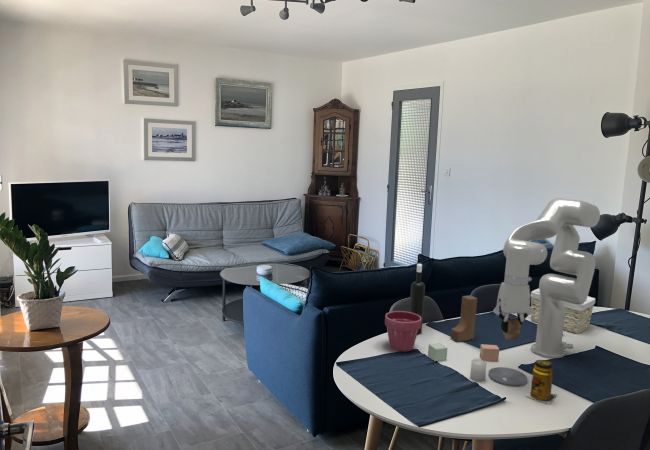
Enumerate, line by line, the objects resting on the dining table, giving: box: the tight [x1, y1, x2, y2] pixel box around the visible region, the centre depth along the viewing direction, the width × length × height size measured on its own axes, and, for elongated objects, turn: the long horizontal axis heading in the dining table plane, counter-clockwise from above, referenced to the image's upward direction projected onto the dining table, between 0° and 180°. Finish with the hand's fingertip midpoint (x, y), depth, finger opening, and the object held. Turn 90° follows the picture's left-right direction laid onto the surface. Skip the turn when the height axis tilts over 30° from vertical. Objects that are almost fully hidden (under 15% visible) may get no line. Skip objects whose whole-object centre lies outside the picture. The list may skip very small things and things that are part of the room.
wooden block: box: [450, 295, 478, 343], centre depth 219 cm, size 9×4×18 cm, turn 118°
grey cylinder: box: [469, 358, 487, 383], centre depth 183 cm, size 5×5×6 cm
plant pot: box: [384, 310, 422, 352], centre depth 208 cm, size 14×14×13 cm
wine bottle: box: [408, 263, 426, 335], centre depth 223 cm, size 6×6×30 cm
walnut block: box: [501, 318, 523, 341], centre depth 182 cm, size 4×4×6 cm
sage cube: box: [427, 342, 448, 362], centre depth 199 cm, size 5×5×5 cm
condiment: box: [525, 359, 557, 405], centre depth 172 cm, size 7×8×12 cm
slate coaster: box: [487, 366, 528, 387], centre depth 185 cm, size 13×13×1 cm
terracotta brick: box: [479, 343, 500, 362], centre depth 200 cm, size 6×4×5 cm, turn 87°
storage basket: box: [530, 287, 596, 335], centre depth 242 cm, size 24×16×15 cm
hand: (511, 331), depth 183 cm, fingers closed on walnut block, 4 cm apart
